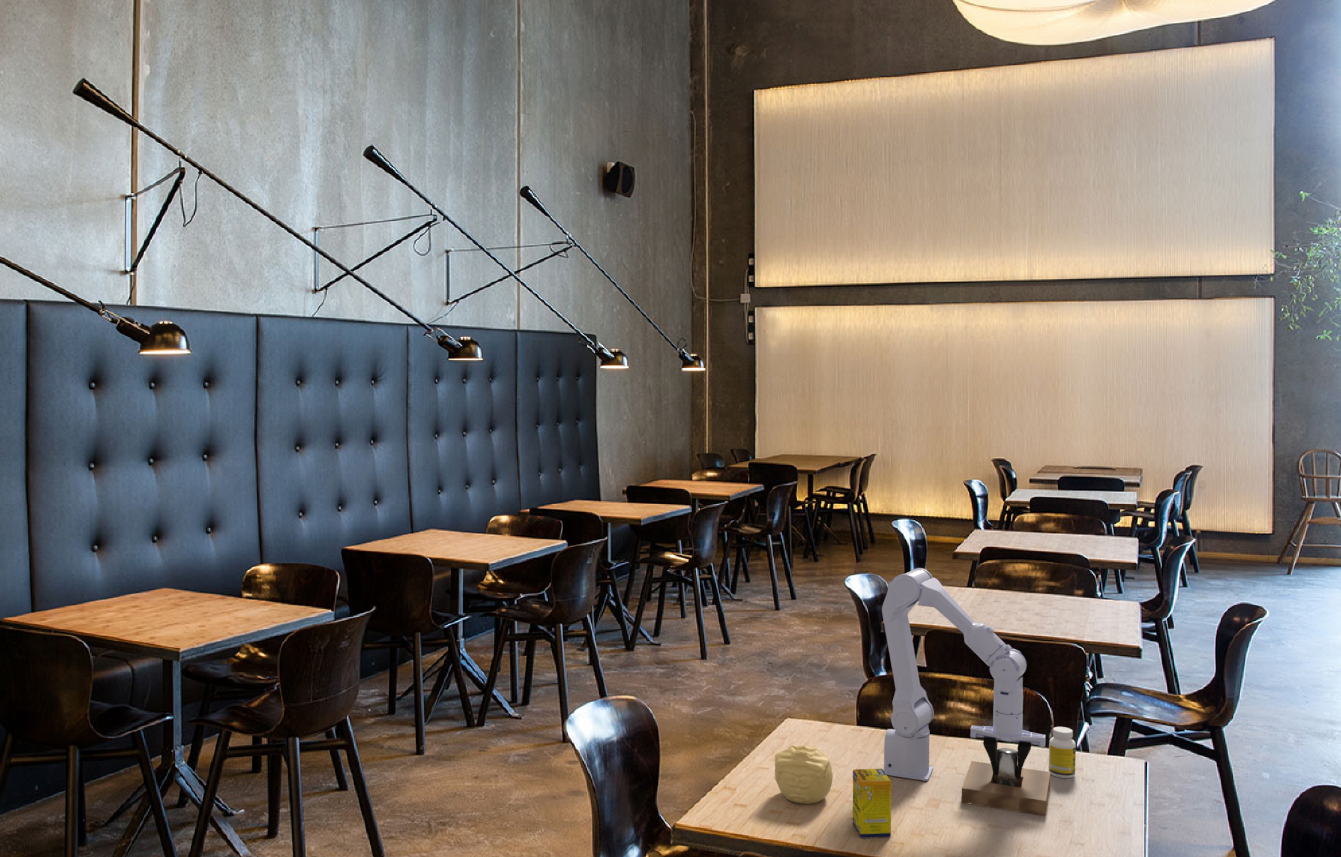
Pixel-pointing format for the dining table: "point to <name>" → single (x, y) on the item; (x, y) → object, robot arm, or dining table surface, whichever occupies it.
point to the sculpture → (803, 774)
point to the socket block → (1007, 790)
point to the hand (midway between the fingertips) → (1007, 775)
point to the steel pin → (1007, 766)
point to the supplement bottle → (1062, 753)
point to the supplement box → (871, 803)
